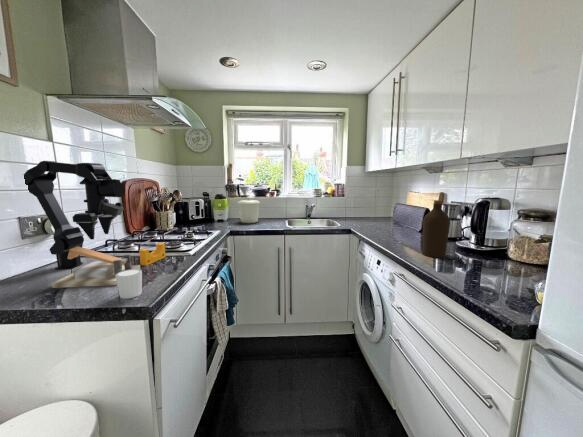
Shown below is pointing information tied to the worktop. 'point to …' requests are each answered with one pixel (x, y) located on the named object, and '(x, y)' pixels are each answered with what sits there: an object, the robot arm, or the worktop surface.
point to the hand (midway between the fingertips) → (99, 236)
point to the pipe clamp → (152, 254)
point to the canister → (248, 210)
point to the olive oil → (435, 232)
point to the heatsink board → (87, 281)
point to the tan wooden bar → (93, 255)
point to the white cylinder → (129, 283)
